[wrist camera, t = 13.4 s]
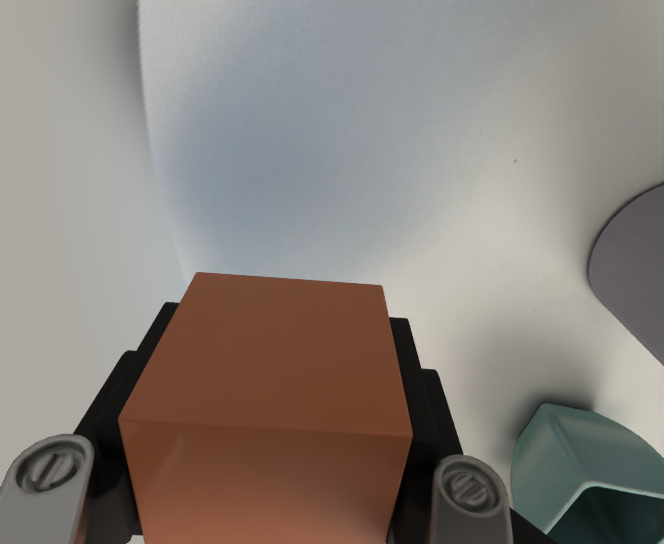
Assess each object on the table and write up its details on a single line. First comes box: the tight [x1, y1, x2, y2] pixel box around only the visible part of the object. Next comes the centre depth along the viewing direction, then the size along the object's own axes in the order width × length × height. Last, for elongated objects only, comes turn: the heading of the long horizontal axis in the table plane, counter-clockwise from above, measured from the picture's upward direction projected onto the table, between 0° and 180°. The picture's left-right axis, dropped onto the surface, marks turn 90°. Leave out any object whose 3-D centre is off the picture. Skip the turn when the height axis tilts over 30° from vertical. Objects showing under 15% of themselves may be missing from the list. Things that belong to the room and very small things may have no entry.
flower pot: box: [510, 403, 664, 544], centre depth 33 cm, size 9×9×9 cm
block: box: [118, 272, 413, 544], centre depth 10 cm, size 5×5×5 cm
